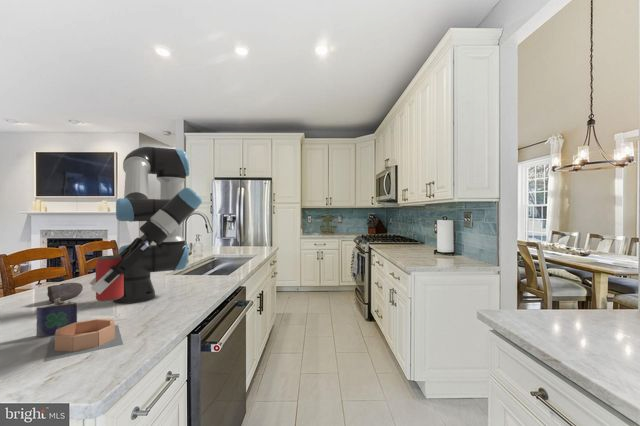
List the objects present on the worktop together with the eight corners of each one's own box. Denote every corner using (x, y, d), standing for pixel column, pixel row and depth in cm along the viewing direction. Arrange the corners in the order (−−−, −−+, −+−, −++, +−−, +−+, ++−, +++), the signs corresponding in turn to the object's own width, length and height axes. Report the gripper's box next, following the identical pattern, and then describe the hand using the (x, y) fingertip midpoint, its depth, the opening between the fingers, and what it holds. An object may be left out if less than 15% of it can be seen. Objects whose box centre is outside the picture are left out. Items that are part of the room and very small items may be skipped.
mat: (51, 338, 87) (51, 337, 87) (117, 326, 97) (117, 324, 97) (43, 363, 73) (43, 361, 73) (123, 345, 82) (123, 344, 82)
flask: (35, 339, 86) (35, 301, 86) (38, 335, 89) (38, 299, 89) (76, 333, 91) (76, 297, 91) (78, 329, 94) (78, 295, 94)
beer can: (110, 302, 83) (109, 258, 83) (89, 301, 84) (89, 258, 84) (129, 295, 89) (129, 255, 89) (110, 294, 90) (109, 254, 90)
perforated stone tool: (77, 294, 134) (77, 278, 134) (87, 295, 133) (87, 279, 133) (41, 304, 120) (41, 286, 120) (52, 305, 119) (52, 287, 119)
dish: (57, 338, 86) (57, 325, 86) (112, 328, 94) (112, 316, 94) (53, 355, 76) (53, 340, 76) (115, 342, 83) (115, 328, 83)
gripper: (176, 237, 89) (109, 304, 78) (161, 234, 104) (103, 289, 93) (156, 220, 85) (83, 287, 75) (143, 218, 100) (81, 274, 90)
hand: (94, 288), depth 84 cm, fingers closed on beer can, 6 cm apart
